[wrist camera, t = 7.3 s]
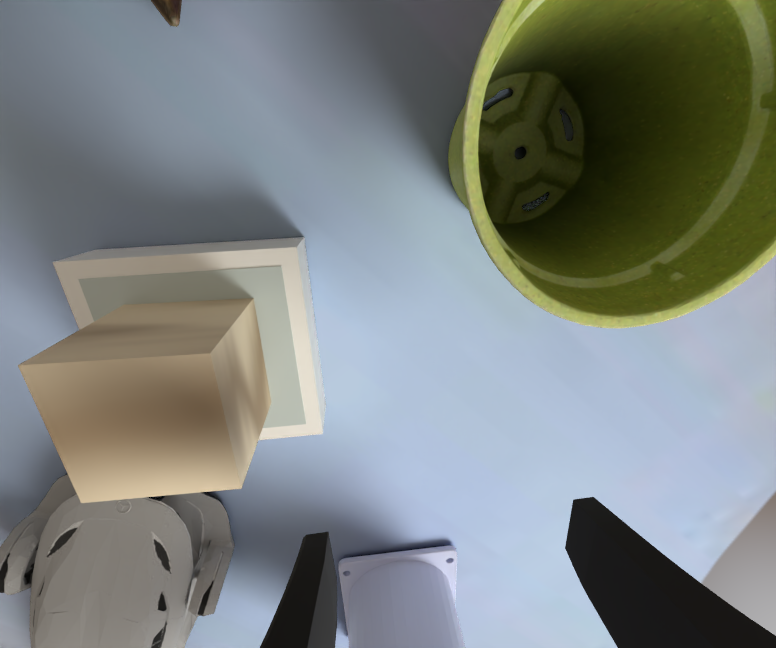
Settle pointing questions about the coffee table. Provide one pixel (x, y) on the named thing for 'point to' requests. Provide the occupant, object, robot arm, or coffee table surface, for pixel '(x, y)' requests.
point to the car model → (117, 568)
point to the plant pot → (623, 153)
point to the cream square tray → (219, 282)
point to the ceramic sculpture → (169, 10)
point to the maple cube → (155, 399)
